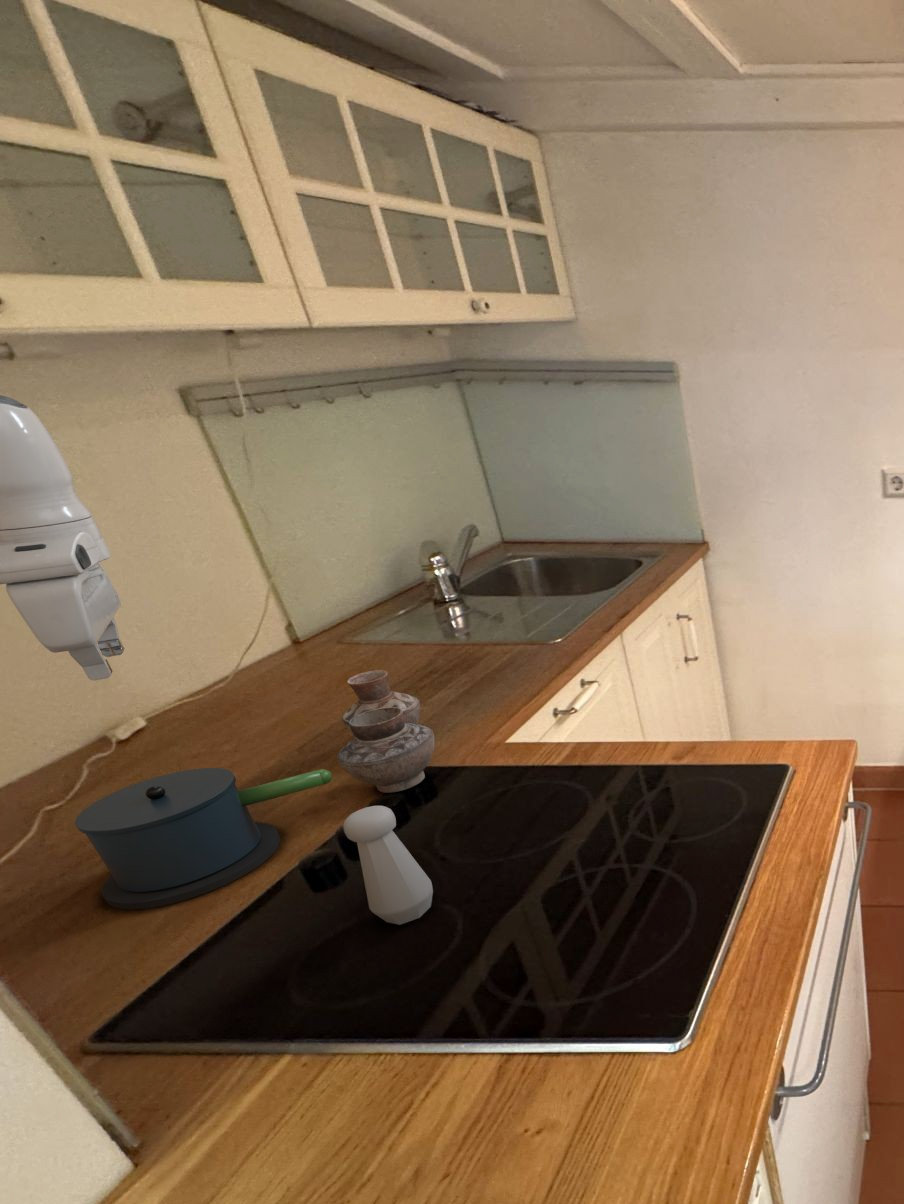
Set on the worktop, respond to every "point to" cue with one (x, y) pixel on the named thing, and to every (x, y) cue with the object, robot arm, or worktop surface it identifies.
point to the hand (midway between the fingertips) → (109, 665)
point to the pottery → (385, 735)
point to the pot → (180, 825)
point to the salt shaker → (388, 867)
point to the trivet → (198, 887)
